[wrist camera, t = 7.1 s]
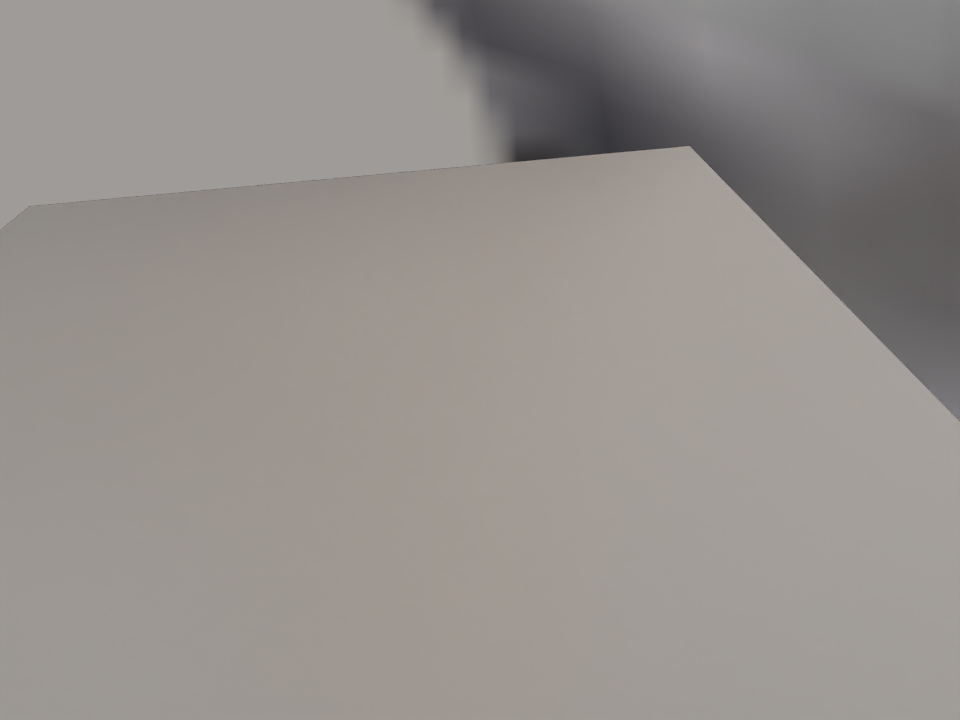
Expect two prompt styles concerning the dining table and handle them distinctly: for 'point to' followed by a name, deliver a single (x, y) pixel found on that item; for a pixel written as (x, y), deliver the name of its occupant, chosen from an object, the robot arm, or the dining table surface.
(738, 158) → the dining table surface
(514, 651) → the plain white closed box
